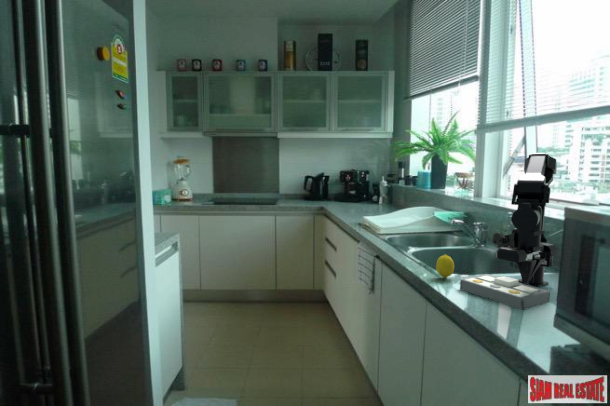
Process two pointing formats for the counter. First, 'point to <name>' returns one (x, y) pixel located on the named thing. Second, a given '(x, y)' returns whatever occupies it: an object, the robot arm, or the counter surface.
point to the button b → (506, 281)
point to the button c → (525, 289)
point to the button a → (486, 278)
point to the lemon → (445, 266)
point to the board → (505, 293)
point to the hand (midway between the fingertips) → (525, 282)
